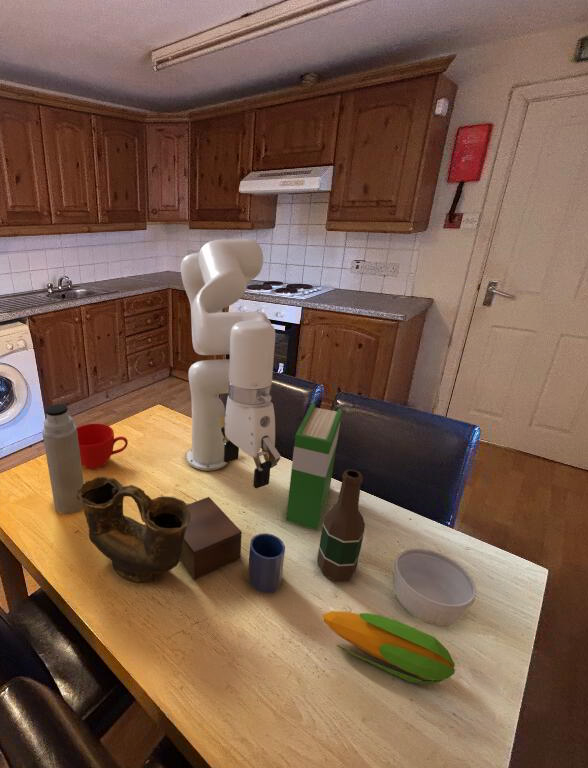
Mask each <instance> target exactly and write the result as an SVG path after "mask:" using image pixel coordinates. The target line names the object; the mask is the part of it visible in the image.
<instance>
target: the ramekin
mask: <svg viewBox="0 0 588 768" xmlns="http://www.w3.org/2000/svg"><path fill="white" fill-rule="evenodd" d="M393 572H394V573H393V575H394V576H393V591H394V594H395V597H396V599H397V600H398V601H399V603H400V604H401V605H402V607H403V608H404V609H405V610H406V611H407V612H408V613H410V614H411V615H412V616H414V617H415V618H416V619H418V620H420V621H422V622H424V623H427V624H429V625H434V626H451V625H454V624H456V623H458V622H459V621H460V620H462V618H463V617H464V616H465V614H466V612H467V611H468V610H469V608H470V607H471V606H472V605H473V604H474V602H475V599H476V597H477V586H476V584H475V582H474V579H473V577H472V575H470V573H469V572H468V571H467V570H466V569H465V568H464V567H463V566H462V565H461V564H460V563H458V562H457V561H455V560H454V559H452V558H451V557H449V556H447V555H446V554H443V553H440V552H438V551H435V550H431V549H429V548H421V547H412V548H408V549H405V550H402V551H401V552H399V553H398V554H397V555H396V558H395V560H394V562H393Z"/></svg>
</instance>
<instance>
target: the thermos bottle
mask: <svg viewBox="0 0 588 768" xmlns="http://www.w3.org/2000/svg"><path fill="white" fill-rule="evenodd" d="M45 413H46V419H45V420H44V422H43V429H42V431H41V433H42V439H43V444H44V450H45V457H46V464H47V468H48V474H49V482H50V486H51V492H52V500H53V506H54V509H55V510H56V511H57V513H59V514H65V515H69V514H75V513H77V512H79V511H80V510H82V509H84V508H83V505H82V504H81V502H80V501H79V500H78V499H77V494H78V490H80V489H81V488H82V485H83V484H85V481H84V474H83V465H81V458H80V450H79V442H78V434H77V428H78V427H77V425H76V423H74V418H73V417H72V416H71V415H70V414H69V412H68V406H67V405H66V404H64V403H56V404H55V403H54V404H52V405H48V406H47V407H46V408H45Z"/></svg>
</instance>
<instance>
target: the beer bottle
mask: <svg viewBox="0 0 588 768" xmlns="http://www.w3.org/2000/svg"><path fill="white" fill-rule="evenodd" d="M341 478H342V482H341V485H340V490H339V493H338V497H337V500H336V502H335V503H334V504H332V506H331V507H330V509H329V510H328V511H327V512H326V513H325V515H324V518H323V522H322V527H321V533H320V540H319V545H318V551H317V561H316V563H317V565H318V567H319V569H320V571H321V574H322V575H324V576H325V577H326V578H329V579H331V580H333V581H334V582H349V581H351V579H352V578H353V576H354V574H355V573H356V570H357V568H358V563H359V559H360V553H361V549H362V545H363V540H364V536H365V530H366V523H365V519H364V516H363V515H362V513H361V511H360V504H359V503H360V496H361V486H362V483H363V481H364V476H363V475H362V473H361V472H360V471H358V470H355V469H345V471H344V472H343V473H342V475H341Z"/></svg>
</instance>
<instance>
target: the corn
mask: <svg viewBox="0 0 588 768" xmlns="http://www.w3.org/2000/svg"><path fill="white" fill-rule="evenodd" d="M322 619H323V623H325V625H326V626H327V627H328V629H330V630H331V631H332V632H334V633H335V634H336V635H337V636H338V637H340V638H341V639H342V640H345V641H346V642H348V643H349V644H352V645H353V646H355V647H357V648H358V649H360V650H362V651H363V652H365V653H367V654H368V655H370V656H372V657H374V658H376V659H378V660H381V661H382V662H385V663H387V664H389V665H391V666H392V667H396V668H398V669H400V670H402V671H404V672H406V673H409V674H411V675H413V676H415V677H413V676H410V675H407V674H405V673H403V672H400V671H397V670H395V669H392V668H390V667H388V666H384V665H381V664H379V663H377V662H375V661H372V660H370V659H368V658H365V657H364V656H361V655H359V654H357V653H355V652H353V651H351V650H349V649H347V648H345V647H343V646H341V645H339V644H336V646H337V647H338V648H340V649H342V650H344V651H345V652H347V653H349V654H351V655H352V656H354V657H356V658H358V659H360V660H363V661H364V662H366V663H368V664H371V665H373V666H374V667H377V668H380V669H382V670H384V671H385V672H388V673H389V674H392V675H394V676H396V677H398V678H401V679H403V680H404V681H406V682H409V683H413V684H425V685H434V684H438V683H440V682H442V681H445V680H448V679H449V678H451V677H453V675H455V672H456V668H455V667H456V663H455V661H454V659H453V657H452V655H451V653H450V651H449V650H448V649H447V648H446V647H445V645H443V644H442V643H441V642H440V641H439V640H438V639H437V638H436V637H435V636H433V635H432V634H431V635H430V634H428V633H426V632H424V631H421V630H419V629H417V628H415V627H413V626H410V625H408V624H406V623H404V622H401V621H399V620H396V619H393V618H391V617H387V616H383V615H380V614H374V613H368V612H367V613H366V612H360V613H355V612H348V611H338V610H337V611H336V610H332V611H328V612H326V613H323V614H322ZM416 677H419V678H423V679H422V680H421V679H418V678H416Z"/></svg>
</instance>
